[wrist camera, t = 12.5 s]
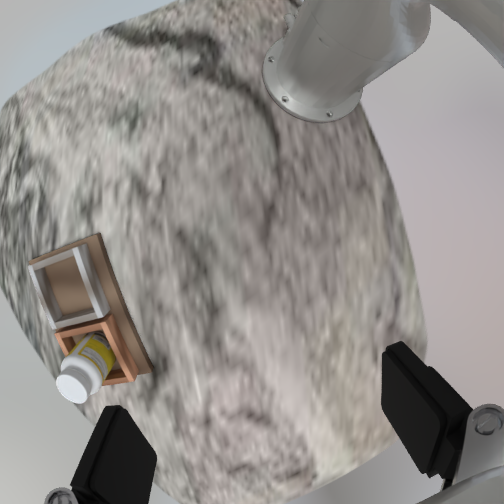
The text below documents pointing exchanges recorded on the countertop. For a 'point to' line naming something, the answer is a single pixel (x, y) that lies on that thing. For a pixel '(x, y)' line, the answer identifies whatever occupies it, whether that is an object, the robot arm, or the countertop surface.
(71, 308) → the board
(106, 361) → the supplement bottle
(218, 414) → the countertop surface
